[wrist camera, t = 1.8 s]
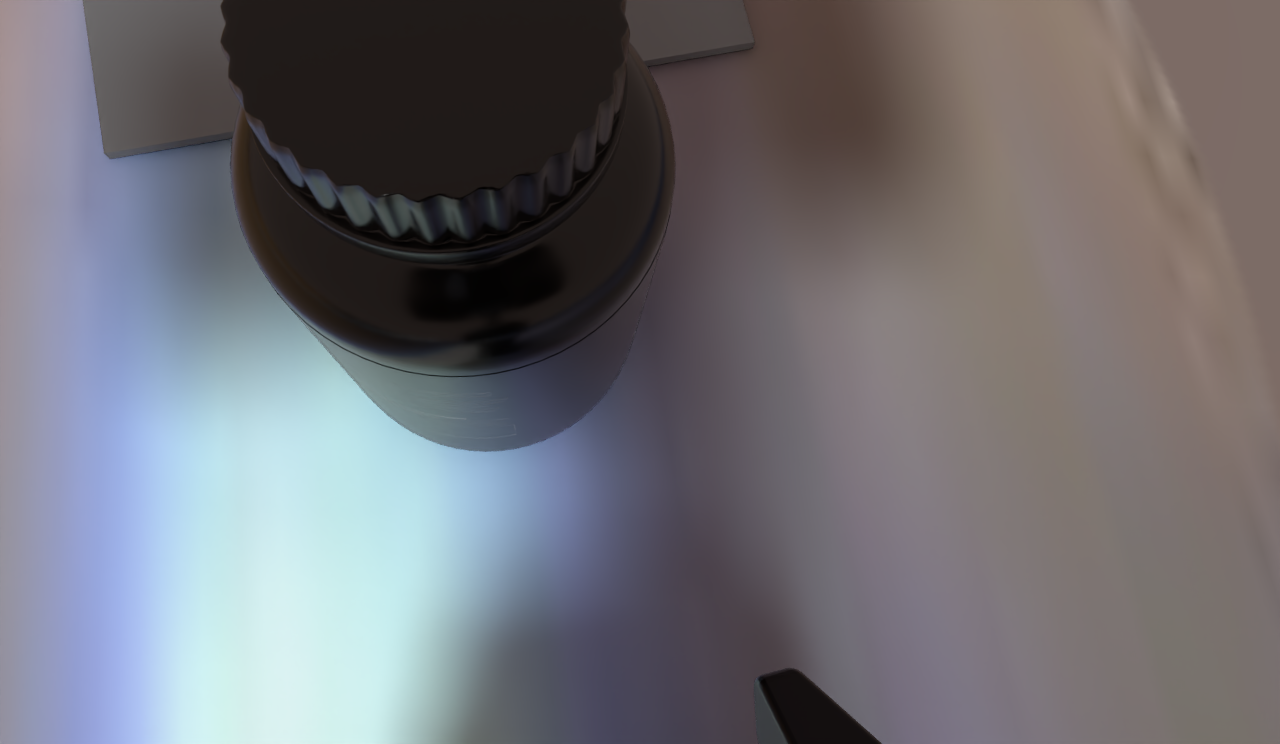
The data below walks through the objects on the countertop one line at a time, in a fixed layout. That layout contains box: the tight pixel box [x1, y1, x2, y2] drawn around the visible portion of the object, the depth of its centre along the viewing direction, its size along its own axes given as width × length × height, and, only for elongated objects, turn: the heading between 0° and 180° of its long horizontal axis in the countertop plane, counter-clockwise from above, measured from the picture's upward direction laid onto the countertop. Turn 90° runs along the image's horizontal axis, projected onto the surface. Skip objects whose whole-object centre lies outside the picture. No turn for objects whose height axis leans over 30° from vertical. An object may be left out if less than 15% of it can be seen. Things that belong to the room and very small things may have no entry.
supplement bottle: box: [220, 0, 675, 452], centre depth 17 cm, size 7×7×12 cm
